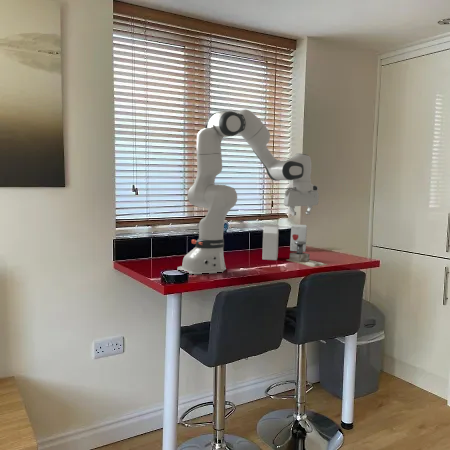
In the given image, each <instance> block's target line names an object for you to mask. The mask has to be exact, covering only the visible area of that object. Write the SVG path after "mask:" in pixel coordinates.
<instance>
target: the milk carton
mask: <svg viewBox="0 0 450 450" xmlns="http://www.w3.org/2000/svg"><path fill="white" fill-rule="evenodd" d="M278 254H279V224H273V223H272V224H271V223H270V224H269V223H264V225H263V231H262V257H261V258H262V260H265V261H266V260H267V261H277V260H278V256H279V255H278Z"/></svg>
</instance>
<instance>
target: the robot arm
mask: <svg viewBox="0 0 450 450" xmlns="http://www.w3.org/2000/svg"><path fill="white" fill-rule="evenodd" d="M238 134H239V135H240V136H241V137H242V138H243V139H244V140H245V142H246V143H247V144H248V145H249V146H250V148H251V149H252V151H253V152H254V154H255V155H256V157H257V158H258V159H259V161H260V162H261V163H262V165H263V167H264V168H265V170H266V172H267V175H268V177H269V179H271V180H272V181H275V182H276V181H277V182H278V181H292V186H291V187H287V188H286V189H285V191H284V192H285V193H284V198H283V205H284V206H285V207H289V210H290V212H291V216H293V217H294V216H297V212H296V211H295V209H296V208H295V207H307V210H305V215H307V216H308V215H311V211H312V209H313V206H318V204H319V202H320V201H319V198H320V195H319V188H320V187H319V186H318V185H315V184H313V183H312V178H311V175H312V159H311V156H310V155H309V154H307V153H296V154H295V155H294V156H292V157H290V158H289V159H287V160H286V159H285V160H279V159H277V158H275V157H274V155H273V154H272V152H271V151H270V150H269V148H268V147H267V145H268V144H269V142H270V138H271V133H270V131H269V130H268V128H267V126H266V125H265V124H264V122H263V121H262V120H261V119H260V118H259V117H258V116H257V115H256V114H254V113H253V112H252V111H251V110H250V109H242V110H240V111H238V112H235V111H231V110H229V111H226V110H223V111H221V110H220V111H218V112H214V113H212V114H211V115H210V116H209V117H208V120H207V123H206V125H205V127H204V128H202V129H200V130H199V131H198V132H197V135H196V150H195V151H196V162H197V163H196V164H197V172H196V176H195V180H194V182H193V184H192V185H191V186H190V188H189V189H188V191H187V200H188V202H189V204H191V205H192V206H195V207H197V208H202V209H203V208H204V209H207V213H206V215H205V217H203V218H201V220H200V221H199V225H198V227H199V228H198V231H199V232H198V238H197V240H196V239H191V244H193V245H195V247H193V249H191V250H190V251H189V252H187V254H185V255H184V257H183V259H182V265H180V266H177V271H178V270H184V271H188V272H189V274H188V275H192V274H194V275H203V274H202V273H209V274H218V273H217V272H222V273H224V271H226V270H227V268H226V262H225V257H224V255H225V254H224V249H225V238H224V227H225V220H226V218H227V215H228V213H229V212H230V210H231V209H233V207H235V206H236V204H237V202H238V193H237V191H236V189H235V188H234V187H231V186H229V185H226V184H215V182H216V181H215V180H216V177H217V176H218V175H219V174H221V172H222V170H223V158H222V157H223V156H222V146H221V145H222V141H223V138H228V137H234V136H237V135H238Z"/></svg>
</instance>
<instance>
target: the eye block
mask: <svg viewBox="0 0 450 450" xmlns="http://www.w3.org/2000/svg"><path fill="white" fill-rule="evenodd" d="M286 261H288V262H291V263H295V264H299V265H304V266H308V267H312V268H313V267H321V266H328V265H329V264H328V263H323V262H320V261H315V260H311V259H310V253H306V252H303V254H301V255H299V254H297V251H294V252H289V259H286Z"/></svg>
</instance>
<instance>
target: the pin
mask: <svg viewBox="0 0 450 450" xmlns="http://www.w3.org/2000/svg"><path fill="white" fill-rule="evenodd" d="M294 244H297V251H296V252H297V254H299V255H301V254H303V253H304V252H303V245H304V244H306V245H307V241H306V242H305V241H295V242H294Z"/></svg>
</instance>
